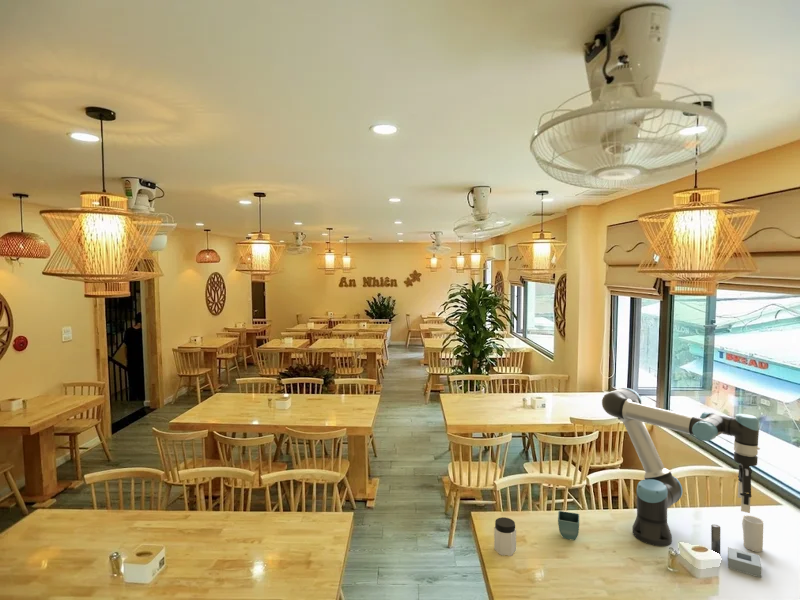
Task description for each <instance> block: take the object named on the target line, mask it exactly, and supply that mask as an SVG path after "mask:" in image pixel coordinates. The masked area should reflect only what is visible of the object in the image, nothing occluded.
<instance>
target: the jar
mask: <svg viewBox="0 0 800 600" xmlns="http://www.w3.org/2000/svg"><path fill="white" fill-rule="evenodd" d="M493 528H494V529H493V530H494V531H493V540H494V542H493V544H494V546H493V547H494V548H493V549H494V550H495V552H496V553H498V554H499V555H500V556H505V555H508V556H509V557H512V556H513V555H514V554H515V553H516V552H517V529H516V522H515V521H514V520H513V519H511V518H509V517H498V518H496V519H495V521H494V527H493ZM515 551H516V552H515ZM514 552H515V553H514ZM513 553H514V554H513Z"/></svg>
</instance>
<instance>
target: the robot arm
mask: <svg viewBox="0 0 800 600" xmlns="http://www.w3.org/2000/svg"><path fill="white" fill-rule="evenodd" d="M601 405H602V409H603V410H604V411H605V412H606V413H607V414H608V415H610V416H611V417H614V418H617V419H618V421H620V422H622V423H623V425H624V427H625V430H626V431H627V434H628V435H629V438H630V439H629V440H630V441H631V443H632V444H633V445H632V446H633V447H634V450H635V452H636V454H637V456H638V458H639V461H640V463H641V466H642V468H643V470H644V472H645V473H644V475H643V479H641V480H640V481H639V482H638V483H637V486H636V489H635V490H636V517H635V521H634V523H633V525H632V534H633V536H634V537H635V538H636V539H637V540H639V541H641V542H643V543H646V544H648V545H650V546H651V545H653V546H657V547H658V546H659V547H665V546H670V545H671V544H672V542H673V535H672V533H671V530H670V526H669V524H668V509H669V508H670V507H671V506H672V505H674V504H676V503H678V502H679V501H680V499H681V498H682V496H683V486H682V484H681V481H680V480H679V479H678V478H677V477H675V476H674V475H673V474H672V471H671V470H670V469H668V468H666V466H665V465H664V463H663V460H662V459H661V456H660V454H659V452H658V450H657V448H656V445H655V443H654V441H653V439H652V437H651V435H650V433H649V430H648V428H647V426H646V424H649V425H653V426H658V427H660V428H664V429H668V430H673V431H676V432H679V433H683V434H688V435H691V436H694V437H695V438H696V439H698V440H699V441H703V442H708V441H712V440H714V439H716V437H718V436H720V435H727V436H730V437H734V443H733V450H734V452H733V461H734V462H735V463H737V464H738V474H737V475H738V476H737V477H738V485H737V498H739V499H741V500H740V504H741V505H740V511H741V512H744V513H748V514H751V497H752V473H753V469H752V467H755V466H757V465H758V459H759V458H758V453H759V452H758V451H759V450H760V449H761V448H760V447H759V436H760V435H759V434H760V433H759V432H760V424H759V422H760V421H759V419H758V418H757V417H756V416H755V415H752V414H747V413H737V414H735V417H733V416H728V415H722V414H717V413H715V412H705V411H704V412H702V413H701V414H700V417H697V416H693V415H688V414H684V413H680V412H676V411H672V410H668V409H663V408H659V407H655V406H651V405H645V404H642V398H641V396H640V394H639V393H638V392H637V391H636V390H635V389H632V388H629V387H622V388H618V389H616V390H612V391H609V392H607V393H605V394H604V395H603V397H602V400H601Z"/></svg>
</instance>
